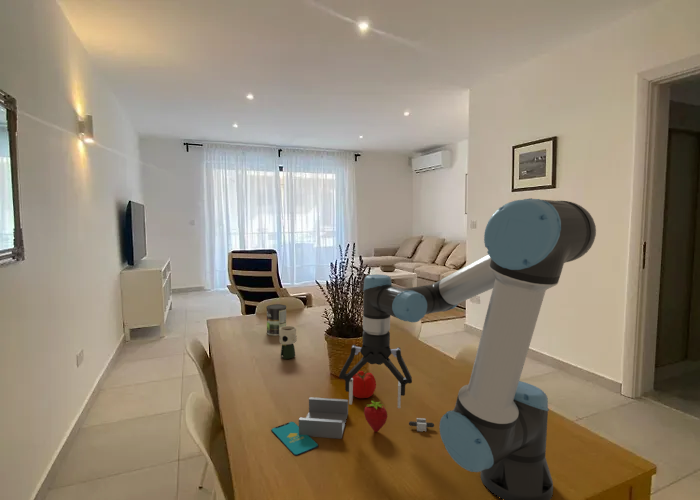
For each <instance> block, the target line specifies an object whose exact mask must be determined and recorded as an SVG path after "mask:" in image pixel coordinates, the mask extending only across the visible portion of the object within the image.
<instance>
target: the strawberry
mask: <svg viewBox="0 0 700 500" xmlns="http://www.w3.org/2000/svg"><path fill="white" fill-rule="evenodd" d="M372 399H373V400H370V401H371V403H368V404H367V403H366V405H365V407H364V411H363V414H364V417H365V420H366V422H367V423H368V425H369V426H370V427H371V429H372V430H373V432H374V433H376V432H379V431H380V429H382V428H383V426H384V425H385V424H386V422H387V420H388V411H387V409H386V408H385V407H384V404H383V403H381V401H375V399H374V398H372Z"/></svg>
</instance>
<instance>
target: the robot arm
mask: <svg viewBox="0 0 700 500" xmlns="http://www.w3.org/2000/svg"><path fill="white" fill-rule="evenodd" d="M596 226H597V225H596V223H595V221H594V218H593V217H592V215H591V213H590V212H589V211H588V210H587V209H585V208H584V207H583V206H582V205H580V204H577V203H576V202H572V201H569V200H567V201H566V200H551V199H550V200H549V199H540V198H524V199H518V200H517V199H516V200H511V201H509V202H507V203H505V204H504V205H502V206H500V207H498V209H496V210H495V212H494V213H493V214H492V215H491V216H490V217H489V220H488V221H487V223H486V227H485V229H484V233H483V234H484V235H483V237H484V238H483V240H484V241H483V243H484V248H486V249H487V252H486V253H487V254H486V255H484V256H482V257H480V258H478V259H477V260H474V261H473V262H471V263H469V264H467V265H465V266H464V267H461V268H459V269H458V270H456V271H455V272H454V271H453V272H452V273H450V274H448V275H447V276H445V277H443V278H442V279H440V280H438V281H436V282H434V283H432V284H427V285H420V286H412V287H403V288H402V287H397V286H393V285H392V284H393V282H392V278H391V277H390V276H389V275H386V274H377V273H376V274H368V275H367V276H365V277H364V280H363V289H362V292H363V293H362V294H363V300H362V301H363V305H362V309H363V310H362V329H363V331H362V346H361V347H360V346H357V345H356V344H352V345H351V349H350V354H349V356H348V357H347V359H346V361H345V363H344V365H343V367H342V368H341V370H340V372H339V376H338V379H340V380H344V381H345V384H344V385H345V389H344V390H345V392H346V393H348V405H353V399H354V395H353V378H352V377H353V376H354V375H355V374H357V373H358V372H359V371H361V369H362V368H363V367H364V366H366V364H367V363H368V364H369V365H379V366H381V365H383V364H384V366H385V367H386V368H387V369H388V370H389V371H390V373H391V374H392V375H393V376H394V377H395V379H396V380H397V383H398V384H397V409H401V405H402V404H401V403H402V402H401V397H402V396H403V397H404V396H405V395H406V385H407V384H412V383H413V378H412V375H411V372H410V370H409V369H408V367H407V365H406V361H405V360H404V358H403V356H402V351H401V347H396V348H391V344H390V343H391V342H390V340H391V333H390V330H391V317H394V318H396V319H398V320H399V321H400V320H401V321H403V322H409V323H417V322H419V321H421V320H422V319H423V318H424V317H425V315H429V314H434V313H440V312H447V311H451V310H452V309H455V308H456V307H457V306H458V305H459V304H460V303H463V302H465V301H467V300H469V299H472V298H474V297H476V296H478V295H482V294H483V293H485V292H488V291H489V290H491V295H490V298H489V303H488V307H487V311H486V314H485V319H484V322H483V326H482V330H481V335H480V337H479V341H478V342H479V343H478V346H477V351H476V355H475V357H474V358H475V359H474V363H473V366H472V370H471V375H470V377H469V383H468V384H465V385H463V386H462V387H460V389H459V390H458V392H457V393H458V394H457V397H456V400H455V401H456V402H455V404H454V405H455V406H454V408H453V409H452V410H448V411H446V413H445V414H443V415H442V417H440V421H439V435H440V439H441V441H442V444H443V445H444V447H445V450H446V452H447V453H448V455H449V456H450V457H451V459H452V460H453V461H454V462H455V463H456V464H457V465H459V466H460V467H461V468H463V469H465V470H466V471H468V472H470V473H473V472H474V473H480V479H481V483H482V484H483V485H485V486H486V487H487V488H488V489H489V490H490V491H491V492H492V493H494V494H495V495H497V496H498V497H500V498H502V499H504V500H550V499H551V500H552V498H553V496H552V495H553V494H554V493H553V491H554V482H553V477H552V475H551V471H550V468H549V464H548V462H547V458H546V451H547V449H546V448H547V436H548V416H549V411H550V409H549V404H548V403H549V400H548V395H547V394H546V393H545V392H544V390H542V389H541V388H539V387H537V386H535V385H533V384H531V383H528V382H524V381H521V380H520V379H521V375H522V372H523V370H524V365H525V363H526V358H527V355H528V351H529V349H530V345H531V342H532V339H533V335H534V331H535V329H536V326H537V321H538V318H539V315H540V311H541V307H542V304H543V301H544V298H545V294H546V291H547V290H549V289H551V288H553V287H555V286H557V285H558V284H559V282H560V277H561V274H562V271H563V268H564V265H565V263H569V262H572V261H575V260H578V259H580V258H582V257H583V256H584V255H585V254H587V253H588V251H590V250H591V248H592V246H593V244H594V243H595V239H596V236H597V227H596ZM359 353H361V355H362V356H363V357H361V359H360V360H358V362H357V363H356V364H355V365H354V366H353V367H352V368H351V370H349V367H350V366H351V364H352V362H353V361H354V358H355V356H357V355H359ZM391 355H393V357H394V358H396V360H397V363H398V364H399V367H400V369H401V371H402V373H403V374H402V373H401V371H399V369H398V368H397V367H396V365H395V364H394V363H393V362H392V359H390V358H389V357H390V356H391ZM348 370H349V372H348ZM403 375H404V376H403ZM485 486H484V487H485ZM486 487H485V488H486ZM487 488H486V489H487ZM488 489H487V490H488ZM489 490H488V491H489ZM490 491H489V492H490ZM491 492H490V493H491ZM492 493H491V494H492ZM494 494H493V495H494ZM495 495H494V496H495ZM497 496H496V497H497ZM498 497H497V498H498ZM551 497H552V498H551ZM500 498H499V499H500ZM502 499H501V500H502Z"/></svg>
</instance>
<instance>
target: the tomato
mask: <svg viewBox="0 0 700 500" xmlns="http://www.w3.org/2000/svg"><path fill="white" fill-rule="evenodd" d="M352 378H353V397H355V398H357V399H367V398H370V397H372V396H373V394H374V393H375V390H376V388H377V382H376V378H375V375H373V373H372V372H367V371H366V372H364V371H363V370H359V371H358V372H357V373H356V374H355V375H354V376H353V377H352Z"/></svg>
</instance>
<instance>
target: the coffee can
mask: <svg viewBox="0 0 700 500" xmlns="http://www.w3.org/2000/svg"><path fill="white" fill-rule="evenodd" d="M284 326H287V305H285V304H282V303H281V304H278V303H277V304H269V305H267V306H266V334H267V336H268V335H269V336H271V337H272V336H274V337H276V336H277V337H280V336H279V329H280V327H284Z"/></svg>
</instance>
